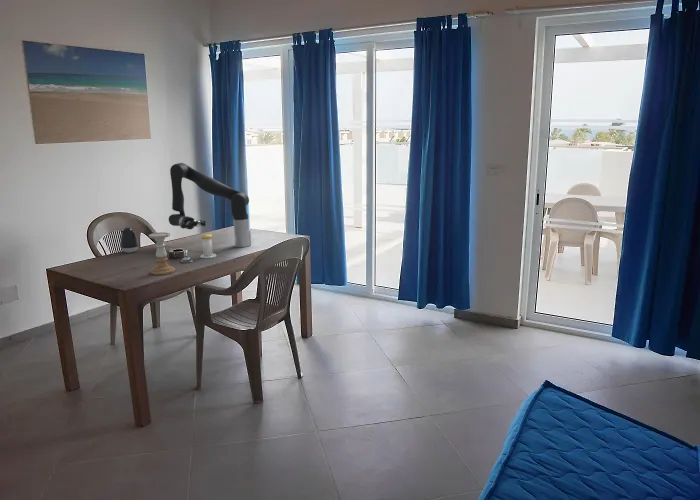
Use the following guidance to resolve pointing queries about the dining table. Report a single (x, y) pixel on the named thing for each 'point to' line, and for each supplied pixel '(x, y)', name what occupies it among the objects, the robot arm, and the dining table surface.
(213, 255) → the coaster
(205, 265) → the dining table surface
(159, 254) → the candle holder
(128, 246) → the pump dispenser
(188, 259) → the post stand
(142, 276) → the dining table surface
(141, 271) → the dining table surface
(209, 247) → the glass jar
